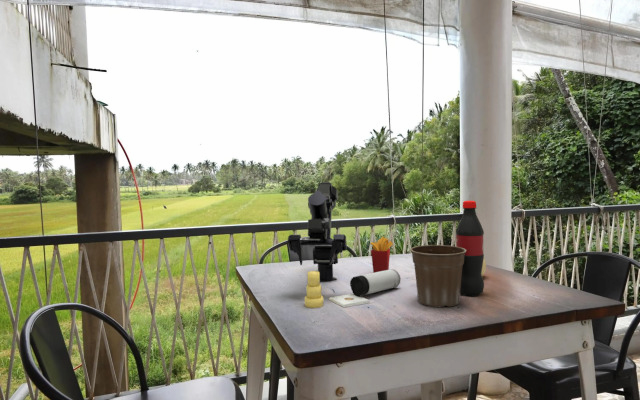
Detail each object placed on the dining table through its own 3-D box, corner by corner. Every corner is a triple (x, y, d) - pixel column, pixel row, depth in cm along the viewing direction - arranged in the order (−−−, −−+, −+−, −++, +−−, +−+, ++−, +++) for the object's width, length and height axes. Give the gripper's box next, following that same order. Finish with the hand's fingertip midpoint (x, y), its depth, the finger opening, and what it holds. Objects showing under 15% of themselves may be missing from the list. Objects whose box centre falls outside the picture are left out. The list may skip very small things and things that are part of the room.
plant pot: (459, 313, 116) (458, 255, 115) (403, 305, 124) (402, 251, 123) (472, 298, 129) (471, 246, 129) (421, 292, 138) (420, 243, 137)
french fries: (370, 275, 164) (370, 237, 163) (375, 271, 171) (374, 234, 171) (393, 277, 161) (392, 238, 160) (396, 272, 168) (396, 235, 168)
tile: (329, 300, 131) (329, 297, 131) (354, 296, 135) (354, 293, 135) (343, 307, 123) (343, 304, 123) (369, 302, 127) (369, 300, 127)
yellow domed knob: (301, 304, 127) (301, 271, 127) (318, 301, 130) (317, 269, 129) (309, 309, 122) (308, 275, 122) (326, 306, 125) (325, 272, 124)
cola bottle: (483, 291, 138) (483, 199, 136) (484, 298, 130) (484, 201, 128) (456, 289, 140) (455, 200, 139) (456, 296, 132) (455, 201, 131)
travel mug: (404, 283, 142) (366, 292, 128) (390, 289, 146) (352, 299, 132) (397, 266, 144) (359, 273, 130) (383, 272, 148) (345, 280, 134)
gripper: (288, 210, 136) (281, 249, 126) (345, 209, 134) (343, 248, 124) (293, 231, 144) (287, 269, 134) (347, 231, 142) (345, 269, 132)
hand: (315, 264), depth 130 cm, fingers open, 9 cm apart
